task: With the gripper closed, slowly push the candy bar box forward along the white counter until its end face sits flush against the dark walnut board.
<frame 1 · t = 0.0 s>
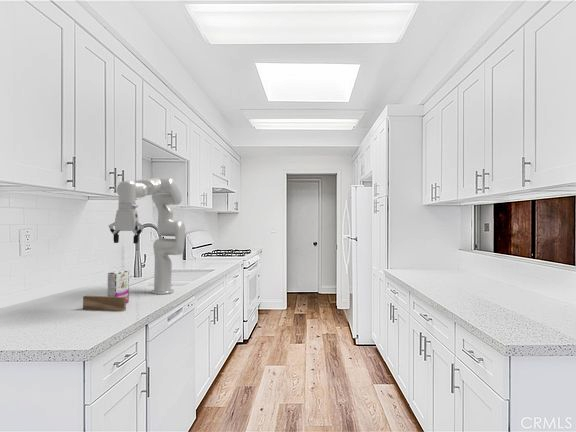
hand: (125, 243, 194), 31 cm above the countertop, fingers open, 9 cm apart
board: (104, 309, 191), on the countertop
candy bar box: (117, 304, 203), on the countertop
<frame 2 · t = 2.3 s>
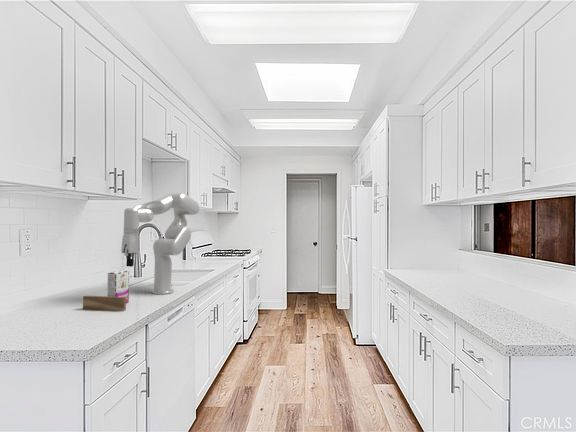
hand: (130, 266, 215), 18 cm above the countertop, fingers closed
nothing on the countertop moved.
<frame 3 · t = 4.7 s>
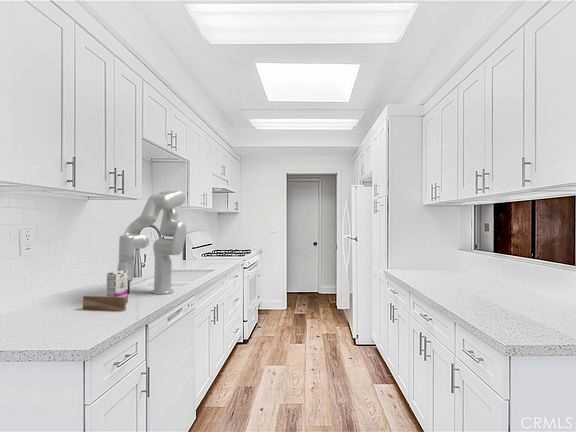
hand: (125, 294, 211), 4 cm above the countertop, fingers closed
candy bar box: (117, 305, 202), on the countertop, touching gripper
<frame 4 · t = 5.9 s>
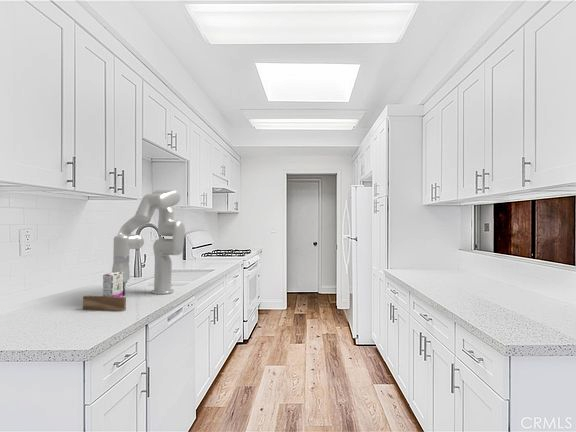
hand: (120, 296, 206), 4 cm above the countertop, fingers closed
candy bar box: (112, 307, 197), on the countertop, touching board, gripper
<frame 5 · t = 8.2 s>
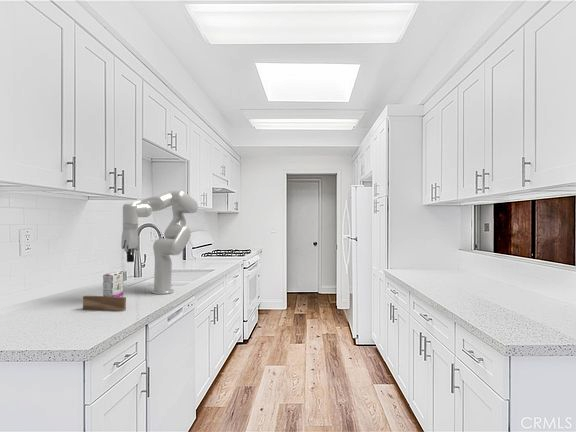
hand: (130, 261, 215), 20 cm above the countertop, fingers closed
candy bar box: (112, 307, 197), on the countertop
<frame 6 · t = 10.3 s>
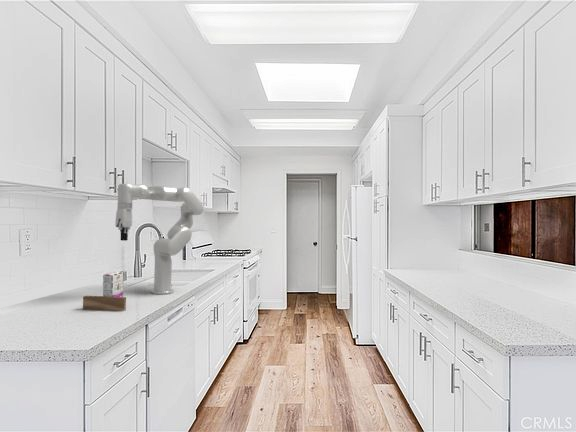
hand: (124, 240, 220), 31 cm above the countertop, fingers closed
nothing on the countertop moved.
at the end: candy bar box inside the target area on the countertop beside the board (0.7 cm from its centre), on the countertop; candy bar box tilted 0° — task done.
